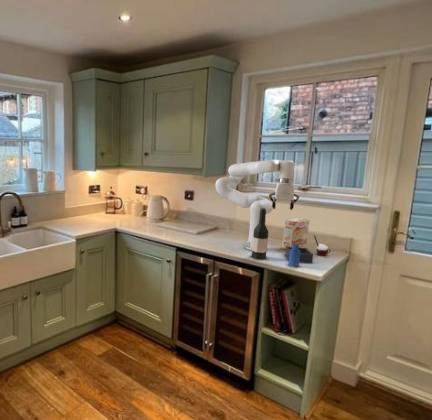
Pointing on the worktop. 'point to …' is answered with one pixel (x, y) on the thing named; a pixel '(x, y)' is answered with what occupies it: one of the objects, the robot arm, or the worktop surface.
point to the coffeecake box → (295, 232)
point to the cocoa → (321, 248)
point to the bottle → (294, 256)
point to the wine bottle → (260, 238)
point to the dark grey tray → (301, 254)
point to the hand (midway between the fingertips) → (282, 209)
